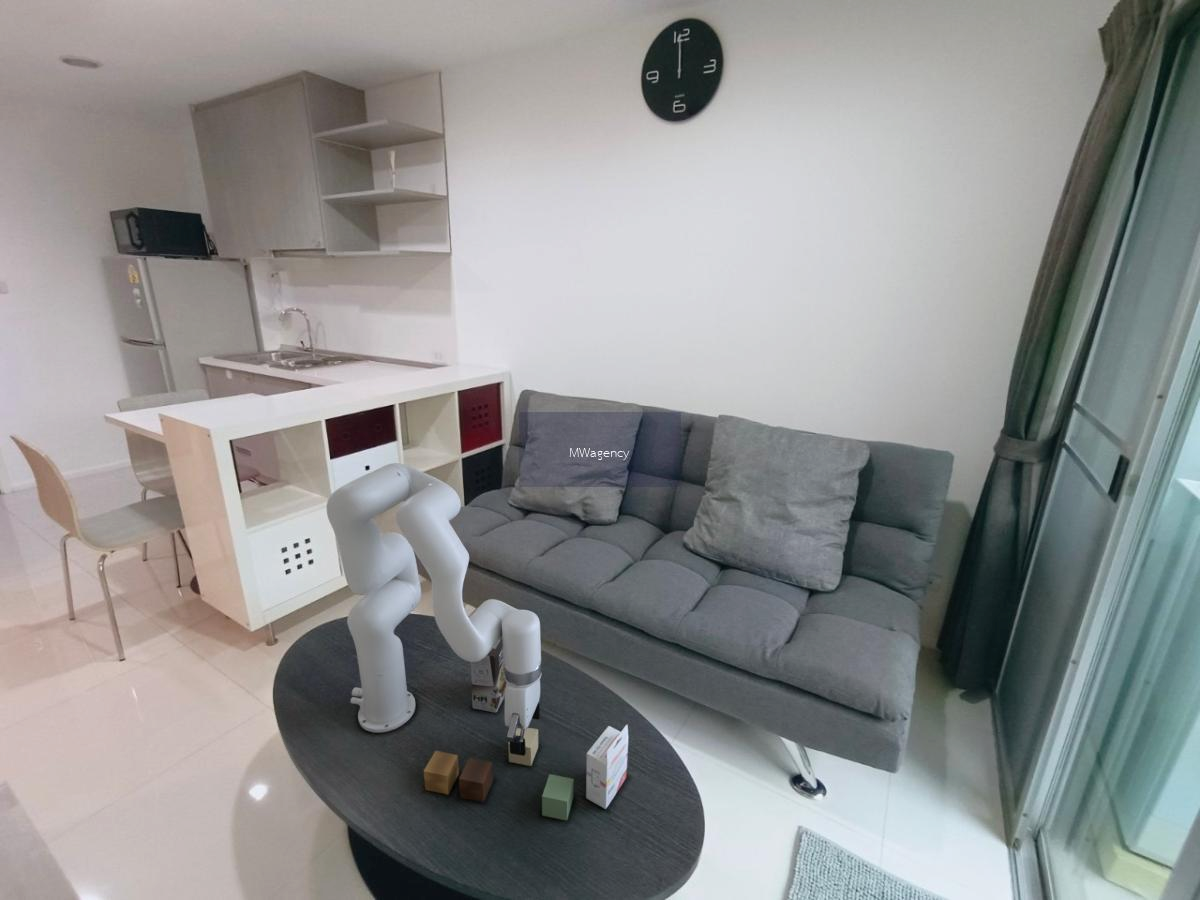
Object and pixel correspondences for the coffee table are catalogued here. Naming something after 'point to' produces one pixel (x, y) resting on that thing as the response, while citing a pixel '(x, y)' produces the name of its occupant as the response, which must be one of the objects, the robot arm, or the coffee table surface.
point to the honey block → (441, 772)
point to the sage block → (557, 797)
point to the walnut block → (476, 779)
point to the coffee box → (489, 680)
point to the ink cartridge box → (607, 766)
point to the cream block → (530, 746)
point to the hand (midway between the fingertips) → (525, 734)
